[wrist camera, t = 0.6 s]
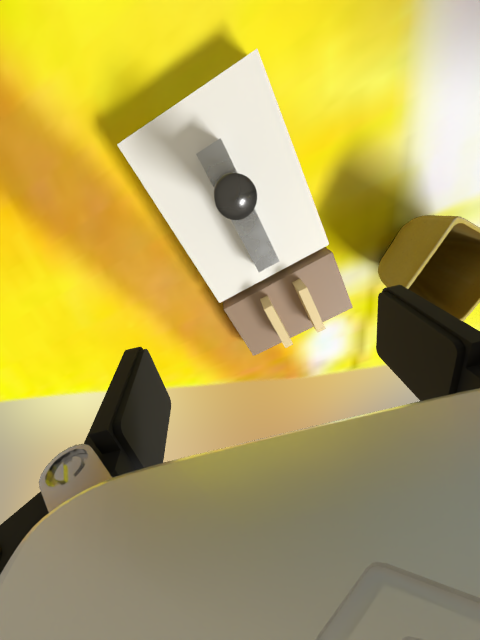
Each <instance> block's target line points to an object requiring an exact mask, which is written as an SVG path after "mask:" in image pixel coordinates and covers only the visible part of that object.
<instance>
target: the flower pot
mask: <svg viewBox="0 0 480 640" xmlns="http://www.w3.org/2000/svg"><path fill="white" fill-rule="evenodd" d="M378 273H379V277H380V279H381V281H382V282H383V283H384V284H385V285H386V287H391V286H396V285H402V286H404V287H405V288H407V289H409V290H410V291H412V292H414V293H416V294H417V295H419V296H421V297H422V298H424V299H426V300H427V301H429V302H431V303H432V304H434V305H436V306H437V307H439V308H441V309H443V310H444V311H446V312H448V313H449V314H451V315H453V316H454V317H456V318H458V319H459V320H461V321H464V320H465V319H466V318H467V316H468V315H469V314H470V313H471V312H472V311H473V310H474V308H475V307H476V306H477V305H478V303H479V302H480V227H478V226H476V225H474V224H473V223H471V222H469V221H468V220H466V219H464V218H462V217H459V216H432V215H427V216H420V217H417V218H414V219H412V220H411V221H409V222H408V223H407V224H405V225H404V226H403V227H402V228H401V229H400V231H399V233H398V234H397V236H396V237H395V239H394V240H393V242H392V244H391V245H390V247H389V248H388V250H387V251H386V253H385V254H384V256H383V257H382V259H381V261H380V264H379V267H378Z"/></svg>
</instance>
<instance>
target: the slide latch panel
mask: <svg viewBox="0 0 480 640" xmlns="http://www.w3.org/2000/svg"><path fill="white" fill-rule="evenodd" d="M220 138H221V140H222V142H223V144H224V146H225V148H226V150H227V152H228V154H229V156H230V158H231V161H232V163H233V165H234V167H235V169H236V171H237V173H239V174H243V175H245V176H247V177H248V178H249V179H250V180H251V181H252V182H253V184H254V185H255V188H256V191H257V203H256V206H255V208H254V209H255V211H256V213H257V215H258V217H259V219H260V221H261V223H262V225H263V228H264V230H265V232H266V234H267V236H268V238H269V240H270V242H271V244H272V246H273V248H274V251H275V253H276V255H277V257H278V259H279V262H277V263H276V264H274V265H272V266H270V267H268V268H266V269H264V270H263V271H261V272H258V270H257V268H256V266H255V264H254V262H253V261H252V259H251V257H250V255H249V253H248V251H247V249H246V247H245V245H244V244H243V242H242V240H241V238H240V236H239V234H238V232H237V230H236V228H235V227H234V225H233V223H232V221H231V219H228V218H226V217H224V216H223V215H222V214H221V213H220V212H219V211H218V209H217V207H216V204H215V200H214V187H213V185H212V183H211V181H210V179H209V178H208V176H207V174H206V172H205V170H204V168H203V166H202V164H201V162H200V161H199V159H198V157H197V155H196V154H197V153H198V152H200V151H201V150H203V149H204V148H206V147H208V146H209V145H211V144H212V143H214V142H215V141H217V140H218V139H220ZM117 146H118V147H119V149H120V150H121V152H122V153H123V155H124V156H125V158H126V159H127V161H128V163H129V164H130V166H131V167H132V169H133V170H134V172H135V173H136V175H137V176H138V178H139V179H140V181H141V183H142V184H143V186H144V187H145V189H146V190H147V192H148V193H149V195H150V196H151V198H152V200H153V201H154V203H155V204H156V206H157V207H158V209H159V210H160V212H161V213H162V215H163V217H164V218H165V220H166V221H167V223H168V224H169V226H170V227H171V229H172V230H173V232H174V234H175V235H176V237H177V238H178V240H179V241H180V243H181V244H182V246H183V247H184V249H185V251H186V252H187V254H188V255H189V257H190V258H191V260H192V261H193V263H194V264H195V266H196V268H197V269H198V271H199V272H200V274H201V275H202V277H203V278H204V280H205V281H206V283H207V285H208V286H209V288H210V289H211V291H212V292H213V294H214V295H215V297H216V298H217V300H218V302H219V303H221V302H223V307H224V311H225V312H226V314H227V315H228V317H229V319H230V320H231V322H232V323H233V325H234V326H235V328H236V329H237V331H238V332H239V334H240V335H241V337H242V339H243V340H244V342H245V343H246V345H247V346H248V348H249V349H250V351H251V352H252V354H253V356H254V355H256V354H259V353H261V352H263V351H265V350H267V349H269V348H271V347H273V346H275V345H277V344H279V343H281V342H282V343H283V345H284V346H285V348H287V347H289V346H291V345H293V343H292V341H291V339H290V338H291V337H293V336H295V335H297V334H299V333H301V332H303V331H306V330H308V329H310V328H312V327H314V328H315V329H316V331H317V332H320V331H322V330H324V329H325V326H324V324H323V322H324V321H326V320H328V319H330V318H332V317H334V316H336V315H338V314H340V313H342V312H344V311H346V310H348V309H350V308H353V307H352V304H351V302H350V299H349V296H348V293H347V291H346V288H345V285H344V283H343V280H342V277H341V275H340V272H339V269H338V266H337V264H336V261H335V258H334V256H333V253H332V252H331V251H330V250H328V249H327V248H326V246H327V245H329V242H328V239H327V237H326V234H325V231H324V228H323V226H322V223H321V220H320V218H319V215H318V212H317V209H316V207H315V204H314V201H313V199H312V196H311V193H310V190H309V188H308V185H307V182H306V180H305V177H304V174H303V171H302V169H301V166H300V163H299V161H298V158H297V155H296V152H295V150H294V147H293V144H292V142H291V139H290V136H289V133H288V131H287V128H286V125H285V123H284V120H283V117H282V115H281V112H280V109H279V106H278V104H277V101H276V98H275V96H274V93H273V90H272V87H271V85H270V82H269V79H268V77H267V74H266V71H265V68H264V66H263V63H262V60H261V58H260V55H259V52H258V49H256V50H254V51H253V52H252V53H250V54H249V55H247V56H246V57H244V58H243V59H241V60H240V61H238V62H237V63H235V64H234V65H232V66H231V67H230V68H228V69H227V70H225V71H224V72H222V73H221V74H219V75H218V76H216V77H215V78H213V79H212V80H211V81H209V82H208V83H206V84H205V85H203V86H202V87H200V88H199V89H197V90H196V91H194V92H193V93H192V94H190V95H189V96H187V97H186V98H184V99H183V100H181V101H180V102H178V103H177V104H175V105H174V106H172V107H171V108H170V109H168V110H167V111H165V112H164V113H162V114H161V115H159V116H158V117H156V118H155V119H153V120H152V121H151V122H149V123H148V124H146V125H145V126H143V127H142V128H140V129H139V130H137V131H136V132H134V133H133V134H132V135H130V136H129V137H127V138H126V139H124V140H123V141H121V142H120V143H118V144H117Z"/></svg>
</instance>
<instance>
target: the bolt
mask: <svg viewBox="0 0 480 640" xmlns="http://www.w3.org/2000/svg"><path fill="white" fill-rule="evenodd" d="M196 155H197V157H198V159H199V161H200V162H201V164H202V166H203V168H204V170H205V172H206V174H207V176H208V178H209V179H210V181H211V183H212V185H213V187H214V200H215V204H216V207H217V209H218V211H219V212H220V213H221V214H222V215H223V216H224V217H226V218H228V219H231V221H232V223H233V225H234V227H235V228H236V230H237V232H238V234H239V236H240V238H241V240H242V242H243V244H244V245H245V247H246V249H247V251H248V253H249V255H250V257H251V259H252V261H253V262H254V264H255V266H256V268H257V270H258V272H261V271H263V270H264V269H266V268H268V267H270V266H272V265H274V264H276V263H277V262H279V259H278V257H277V255H276V253H275V251H274V248H273V246H272V244H271V242H270V240H269V238H268V236H267V234H266V232H265V230H264V228H263V225H262V223H261V221H260V219H259V217H258V215H257V213H256V211H255V209H254V208H255V206H256V203H257V191H256V188H255V185H254V184H253V182H252V181H251V180H250V179H249V178H248V177H247V176H245V175H243V174H239V173H237V171H236V169H235V167H234V165H233V163H232V161H231V158H230V156H229V154H228V152H227V150H226V148H225V146H224V144H223V142H222V140H221V138H220V139H218V140H217V141H215V142H214V143H212V144H211V145H209V146H208V147H206V148H204V149H203V150H201V151H200V152H198V153H197V154H196Z"/></svg>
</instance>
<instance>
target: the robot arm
mask: <svg viewBox="0 0 480 640" xmlns="http://www.w3.org/2000/svg"><path fill="white" fill-rule="evenodd" d="M376 349H377V353H378V355H379V357H380V358H381V359H382V360H383V361H384V362H385V363H386V364H387V365H388V366H389V367H390V369H391V370H392V371H393V372H394V373H395V374H396V375H397V376H398V377H399V378H400V379H401V380H402V381H403V382H404V384H405V385H406V386H407V387H408V388H409V389H410V390H411V391H412V392H413V393H414V394H415V396H416V397H417V398H418V399H419V400H420V401H419V402H415V403H411V404H407V405H402V406H398V407H394V408H389V409H385V410H380V411H376V412H372V413H367V414H363V415H359V416H354V417H350V418H346V419H342V420H338V421H334V422H329V423H325V424H321V425H316V426H312V427H308V428H304V429H300V430H296V431H291V432H287V433H283V434H279V435H275V436H270V437H266V438H262V439H258V440H254V441H250V442H246V443H241V444H237V445H234V446H229V447H225V448H221V449H217V450H213V451H209V452H205V453H200V454H196V455H192V456H188V457H184V458H180V459H176V460H172V461H168V462H164V463H163V459H164V452H165V444H166V438H167V431H168V424H169V417H170V410H171V400H170V397H169V395H168V393H167V391H166V388H165V386H164V384H163V382H162V380H161V378H160V375H159V373H158V371H157V369H156V367H155V365H154V362H153V360H152V358H151V356H150V354H149V352H148V350H147V349H144V350H143V348H142V347H137V348H133V349H128V350H125V352H124V354H123V356H122V359H121V361H120V363H119V365H118V368H117V370H116V372H115V374H114V377H113V379H112V381H111V384H110V386H109V388H108V390H107V393H106V395H105V397H104V399H103V402H102V404H101V406H100V408H99V411H98V413H97V415H96V417H95V420H94V422H93V425H92V426H91V429H90V432H89V433H88V436H87V438H86V440H85V442H84V444H79V445H75V446H73V447H70V448H68V449H66V450H64V451H63V452H61V453H60V454H58V455H57V456H56V457H55V458H54V459H52V461H51V462H50V463H49V464H48V465H47V466H46V468H45V469H44V471H43V473H42V474H41V477H40V480H39V487H40V490H41V492H40V493H38V494H37V495H36V496H35V497H34V498H32V499H31V500H30V501H29V502H28V503H26V504H25V505H24V506H23V507H22V508H20V509H19V510H18V511H17V512H16V513H14V514H13V515H12V516H11V517H10V518H8V519H7V520H6V521H5V522H4V523H2V524H1V525H0V640H480V331H478V330H476V329H475V328H473V327H471V326H470V325H468V324H466V323H465V322H463V321H461V320H459V319H458V318H456V317H454V316H453V315H451V314H449V313H448V312H446V311H444V310H443V309H441V308H439V307H437V306H436V305H434V304H432V303H431V302H429V301H427V300H426V299H424V298H422V297H421V296H419V295H417V294H416V293H414V292H412V291H410V290H409V289H407V288H405V287H404V286H402V285H396V286H391V287H387V288H384V289H383V291H382V293H380V294H379V296H378V319H377V345H376Z"/></svg>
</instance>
